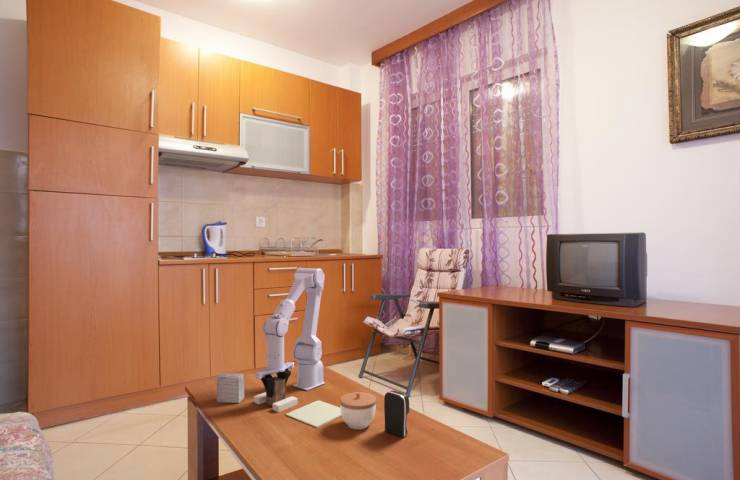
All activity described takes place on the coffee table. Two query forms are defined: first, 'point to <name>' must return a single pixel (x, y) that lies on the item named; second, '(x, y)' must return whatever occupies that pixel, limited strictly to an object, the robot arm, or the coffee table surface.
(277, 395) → the walnut block
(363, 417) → the lidded jar
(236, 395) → the medicine box
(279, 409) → the slot blocks
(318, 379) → the robot arm
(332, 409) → the mat
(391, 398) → the battery charger
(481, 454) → the coffee table surface
